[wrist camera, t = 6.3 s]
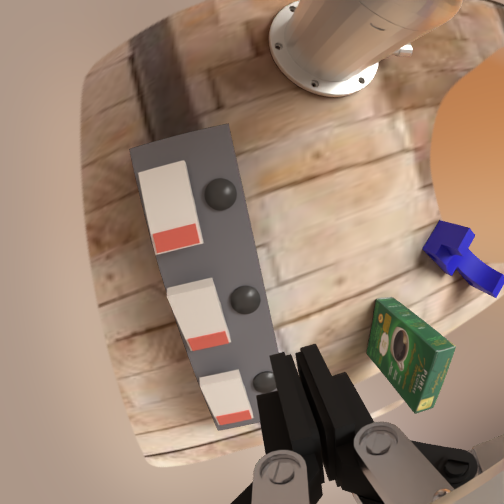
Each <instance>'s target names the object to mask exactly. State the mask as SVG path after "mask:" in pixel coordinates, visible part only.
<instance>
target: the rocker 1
mask: <svg viewBox="0 0 504 504" xmlns="http://www.w3.org/2000/svg"><path fill="white" fill-rule="evenodd" d="M138 175H139V180H140V185H141V191H142V196H143V201H144V206H145V211H146V215H147V220H148V225H149V229H150V233H151V238H152V242H153V246H154V251H155V255H158V254H162V253H166V252H170V251H174V250H178V249H182V248H186V247H190V246H194V245H199V244H203V243H204V242H203V238H202V233H201V229H200V225H199V220H198V216H197V212H196V205H195V200H194V197H193V194H192V189H191V185H190V180H189V175H188V171H187V166H186V162H185V161H184V160H183V161H179V162H175V163H171V164H167V165H164V166H160V167H156V168H153V169H149V170H146V171H142V172H139V173H138Z"/></svg>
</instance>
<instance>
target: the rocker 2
mask: <svg viewBox="0 0 504 504" xmlns="http://www.w3.org/2000/svg"><path fill="white" fill-rule="evenodd" d="M167 298H168V301H169V303H170V305H171V308H172V310H173V312H174V315H175V317H176V319H177V322H178V324H179V326H180V328H181V331H182V333H183V335H184V337H185V339H186V342H187V344H188V346H189V348H190V350H191V351H195V350H200V349H205V348H210V347H214V346H219V345H223V344H228V343H230V342H231V339H230V334H229V330H228V327H227V324H226V321H225V318H224V314H223V310H222V306H221V303H220V301H219V298H218V295H217V292H216V288H215V285H214V282H213V278H208V279H203V280H199V281H195V282H191V283H186V284H182V285H178V286H173V287H169V288H167Z"/></svg>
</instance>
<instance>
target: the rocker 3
mask: <svg viewBox="0 0 504 504" xmlns="http://www.w3.org/2000/svg"><path fill="white" fill-rule="evenodd" d="M199 380H200V388H201V390H202V392H203V394H204V396H205V398H206V401H207V403H208V405H209V407H210V409H211V411H212V413H213V415H214V417H215V419H216V421H217V423H218V425H224V424H230V423H235V422H240V421H244V420H249V419H252V418H254V417H253V412H252V408H251V405H250V402H249V400H248V397H247V393H246V389H245V386H244V384H243V381H242V378H241V375H240V372H239V369H238V370H233V371H229V372H224V373H220V374H215V375H210V376H205V377H200V378H199Z"/></svg>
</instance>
